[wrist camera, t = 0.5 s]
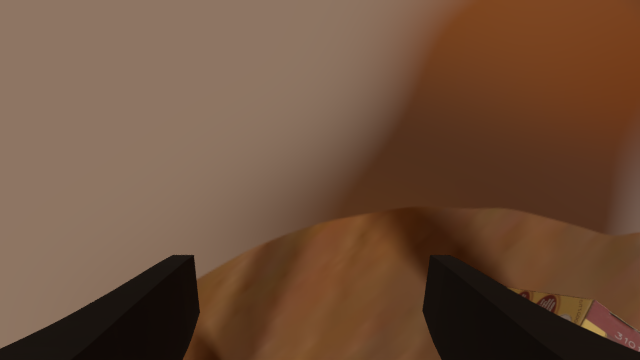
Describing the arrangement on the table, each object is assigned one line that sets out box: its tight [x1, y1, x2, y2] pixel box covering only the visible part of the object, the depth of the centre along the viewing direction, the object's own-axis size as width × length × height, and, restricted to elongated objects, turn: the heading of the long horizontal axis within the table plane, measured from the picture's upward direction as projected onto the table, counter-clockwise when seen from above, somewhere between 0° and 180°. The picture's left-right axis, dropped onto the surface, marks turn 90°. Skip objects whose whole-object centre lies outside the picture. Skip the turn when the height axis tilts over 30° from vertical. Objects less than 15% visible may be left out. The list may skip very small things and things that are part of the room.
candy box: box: [507, 287, 640, 352], centre depth 24 cm, size 9×4×15 cm, turn 52°
